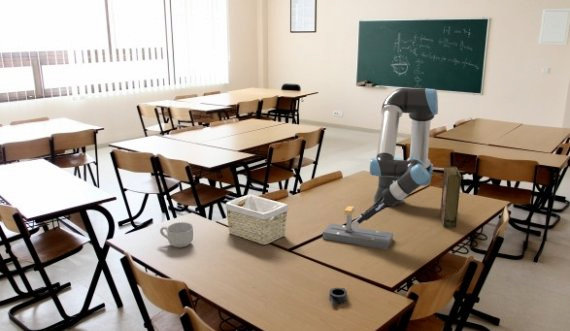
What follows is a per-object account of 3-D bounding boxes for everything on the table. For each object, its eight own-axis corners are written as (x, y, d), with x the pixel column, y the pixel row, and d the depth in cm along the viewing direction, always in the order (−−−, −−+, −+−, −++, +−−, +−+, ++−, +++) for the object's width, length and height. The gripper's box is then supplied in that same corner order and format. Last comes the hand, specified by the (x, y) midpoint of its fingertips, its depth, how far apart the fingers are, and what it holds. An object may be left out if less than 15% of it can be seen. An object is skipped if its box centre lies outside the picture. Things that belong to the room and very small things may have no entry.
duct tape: (318, 299, 157) (319, 291, 157) (341, 290, 163) (341, 283, 162) (334, 310, 151) (334, 301, 151) (357, 300, 157) (357, 292, 156)
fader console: (392, 239, 204) (393, 232, 203) (387, 249, 194) (387, 242, 194) (330, 229, 215) (330, 223, 214) (322, 238, 205) (322, 231, 204)
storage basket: (224, 233, 211) (223, 201, 207) (250, 222, 223) (249, 193, 219) (264, 248, 196) (264, 214, 192) (289, 236, 208) (289, 204, 204)
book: (439, 215, 233) (444, 165, 226) (451, 216, 232) (456, 166, 225) (443, 227, 217) (448, 175, 211) (456, 228, 216) (461, 175, 210)
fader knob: (353, 228, 207) (354, 206, 205) (350, 233, 202) (351, 211, 200) (347, 227, 209) (348, 205, 206) (343, 232, 203) (344, 210, 201)
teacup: (198, 241, 202) (197, 223, 200) (185, 251, 192) (184, 233, 190) (170, 237, 206) (169, 219, 204) (155, 247, 196) (154, 229, 194)
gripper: (391, 181, 199) (351, 213, 210) (385, 190, 188) (343, 224, 198) (403, 195, 199) (363, 226, 209) (398, 205, 187) (355, 237, 198)
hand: (353, 225), depth 204 cm, fingers closed
